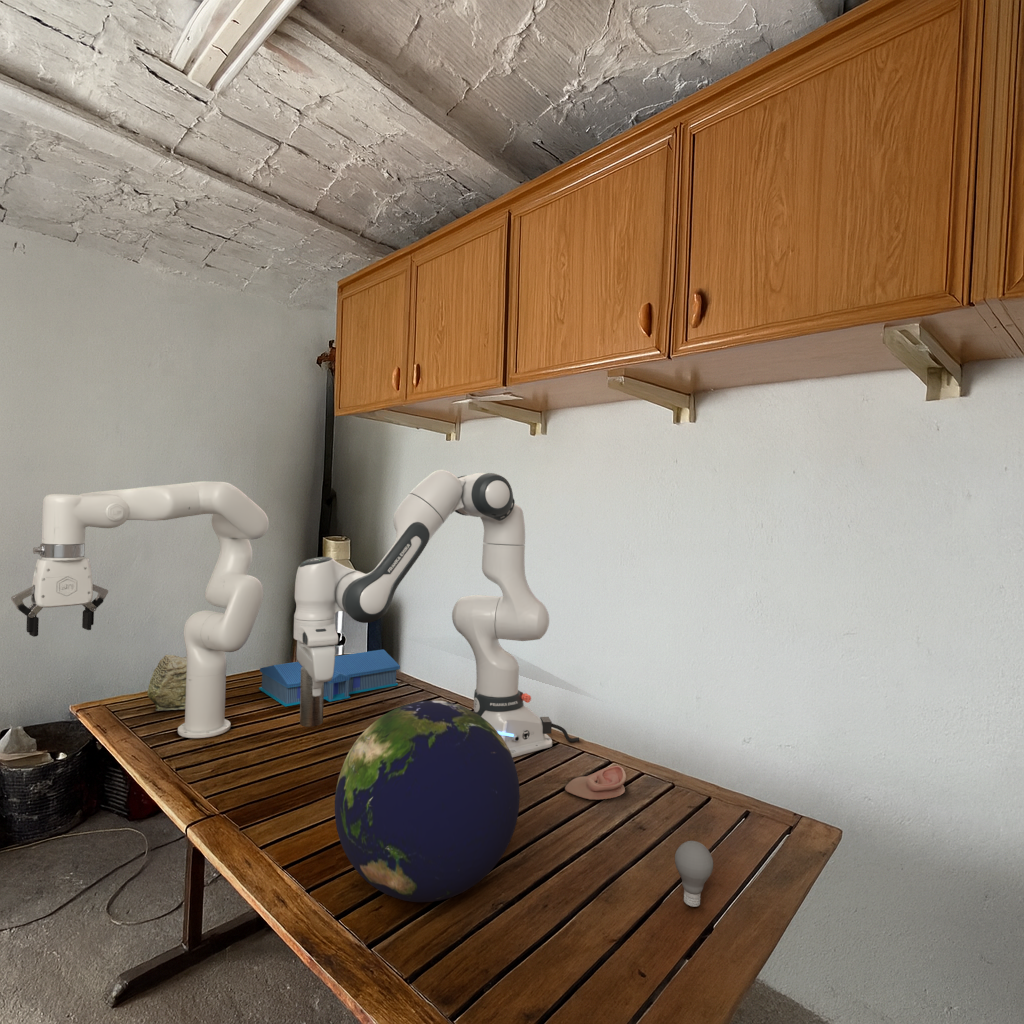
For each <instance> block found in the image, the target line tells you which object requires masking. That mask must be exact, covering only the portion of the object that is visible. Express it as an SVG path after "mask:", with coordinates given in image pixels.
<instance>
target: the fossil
mask: <svg viewBox="0 0 1024 1024" xmlns="http://www.w3.org/2000/svg"><path fill="white" fill-rule="evenodd" d="M186 672H187V656H183V657H182V656H178V655H175V654H174V655H173V654H165V655H164V656H163V657H162V658H161V659H160V660H159V662H158V663H157V666H156V667H155V669H154V670H153V672H152V675H151V677H150V680H149V684H148V688H147V697H148V699H149V700H150V701H152V703H153V704H154V706H155V711H158V712H159V711H162V712H163V711H177V710H185V701H186Z"/></svg>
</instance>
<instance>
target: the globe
mask: <svg viewBox="0 0 1024 1024" xmlns="http://www.w3.org/2000/svg"><path fill="white" fill-rule="evenodd" d="M335 787H336V788H335V795H334V818H335V819H334V820H335V827H336V831H337V835H338V839H339V842H340V845H341V847H342V849H343V852H344V854H345V855H346V857H347V860H348V862H350V864H351V865H352V867H353V868H354V869H355V871H356V872H357V873H358V875H359V876H360V877H362V878H363V880H365V881H366V882H367V883H368V884H369V885H371V886H372V887H373V888H374V889H376V890H378V891H379V892H381V893H382V894H385V895H387V896H389V897H392V898H395V899H396V900H397V899H398V900H402V901H404V902H411V903H434V902H440V901H444V900H447V899H451V898H453V897H456V896H458V895H460V894H463V893H464V892H466V891H468V890H469V889H472V887H475V886H476V885H478V884H479V883H480V882H481V881H482V880H483V879H484V878H485V877H486V876H487V875H488V874H489V873H491V871H492V870H493V869H494V868H495V867H496V866H497V864H498V863H499V862H500V860H501V859H502V857H503V855H504V854H505V852H506V850H507V848H508V847H509V845H510V842H511V840H512V838H513V835H514V833H515V829H516V826H517V822H518V817H519V812H520V798H521V796H520V795H521V793H520V782H519V776H518V771H517V767H516V764H515V760H514V757H513V758H512V755H511V752H510V750H509V748H508V747H507V745H506V743H505V741H504V740H503V738H502V737H501V736H500V734H499V733H498V732H497V731H496V730H495V729H494V727H493V726H492V725H491V724H490V723H489V722H487V721H486V720H485V719H484V718H482V717H481V716H480V715H478V714H476V713H475V712H474V710H471V709H470V708H468V707H465V706H463V705H459V704H457V703H453V702H449V701H445V700H423V701H422V700H421V701H416V702H411V703H407V704H404V705H400V706H399V707H396V708H395V709H393V710H390V711H388V712H387V713H385V714H383V715H382V716H381V717H379V718H377V720H375V721H374V722H373V723H371V724H370V725H369V726H368V727H367V728H366V729H365V730H364V731H363V732H362V733H361V734H360V735H359V736H358V737H357V739H356V741H355V742H354V743H353V745H352V747H351V748H350V749H349V751H348V753H347V755H346V757H345V759H344V761H343V764H342V766H341V769H340V772H339V775H338V778H337V783H336V786H335Z"/></svg>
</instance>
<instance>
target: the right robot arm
mask: <svg viewBox="0 0 1024 1024" xmlns="http://www.w3.org/2000/svg"><path fill="white" fill-rule="evenodd" d="M454 512H455V513H457V514H459V515H461V516H465V517H466V516H469V517H474V518H480V519H481V522H482V525H483V538H482V540H483V542H482V554H481V555H482V557H481V558H482V559H481V570H482V573H483V575H484V576H485V578H486V579H488V580H489V581H491V582H492V583H494V584H495V585H497V586H498V587H499V588H500V591H501V593H502V596H498V595H497V596H496V595H484V594H474V595H466V596H461V597H460V598H459V599H457V601H456V602H455V604H454V606H453V607H452V608H453V609H452V612H451V619H452V624H453V626H454V628H455V630H456V631H457V632H458V633H459V634H460V635H461V636H462V637H463V638H464V639H465V640H466V641H467V643H468V644H469V646H470V649H471V650H472V652H473V655H474V656H473V657H474V659H475V670H476V672H475V673H476V674H475V675H476V678H475V679H476V680H475V681H476V686H475V689H474V693H473V712H475V713H476V714H478V715H480V716H481V717H482V718H484V719H485V720H486V721H487V722H489V723H490V724H491V725H492V726H493V727H494V729H495V730H496V731H497V732H498V733H499V734H500V736H501V737H502V738H503V740H504V741H505V743H506V745H507V747H508V748H509V750H510V752H511V755H512V758H513V759H514V758H516V757H519V756H523V755H527V754H530V753H534V752H538V751H541V750H545V749H548V748H552V747H553V740H552V738H551V736H550V735H551V734H552V728H554V729H557V730H558V731H560V732H562V734H563V736H564V739H565V740H566V741H568V742H569V743H576V742H580V737H573V738H571V737H570V736H569V734H568V731H567V730H566V729H565V728H564V727H562V726H561V725H558V724H555V723H553V722H552V720H551V719H550V717H549V716H540V717H539V715H537V714H536V713H535V712H534V711H532V710H531V709H530V708H529V707H528V706H526V705H525V704H524V703H527V704H528V703H530V702H531V701H532V696H531V695H530V694H528V693H526V692H525V693H524V692H523V691H521V690H519V680H520V679H519V678H520V664H519V662H518V660H517V658H516V657H515V656H514V655H513V654H512V653H510V652H509V651H507V650H505V649H504V648H503V646H501V643H500V641H499V640H505V641H517V642H528V641H538V640H541V639H542V638H543V637H544V636H545V634H546V633H547V631H548V629H549V626H550V614H549V611H548V609H547V607H546V605H545V604H544V603H543V602H542V601H540V600H539V599H538V598H537V597H536V595H535V594H534V592H533V591H532V589H531V588H530V586H529V583H528V580H527V576H526V566H525V565H526V564H525V563H526V561H525V557H526V556H525V555H526V552H525V551H526V524H525V517H524V511H523V509H522V507H521V506H520V505H518V504H517V503H516V502H515V498H514V493H513V489H512V485H511V484H510V482H509V481H508V479H506V478H505V477H504V476H502V475H500V474H497V473H494V472H486V473H485V472H475V473H472V474H468V475H461V476H456V475H455V474H454V473H452V472H451V471H448V470H445V469H437V470H435V471H433V472H431V473H430V474H429V475H427V476H425V478H424V479H422V480H421V481H420V482H419V483H418V484H416V486H414V487H413V489H411V491H410V492H409V493H408V494H407V495H406V497H404V499H403V500H402V501H401V502H400V504H399V505H398V507H397V508H396V509H395V512H394V513H393V517H392V518H393V520H392V521H393V526H394V530H395V532H396V533H395V534H396V536H395V539H394V542H393V544H392V546H391V547H390V548H389V549H388V551H387V552H386V553H385V555H384V556H383V557H382V559H381V560H380V561H379V563H378V564H377V565H376V567H375V568H374V569H373V570H371V571H370V572H367V573H364V572H362V571H360V570H356V569H354V568H353V569H352V568H350V567H348V566H345V565H344V564H342V563H341V562H340V563H339V562H338V561H337V560H335V559H334V558H333V557H332V556H331V557H330V556H318V557H317V556H316V557H312V558H308V559H306V560H303V561H302V562H301V563H300V564H299V565H298V567H297V570H296V576H295V583H294V602H295V612H294V614H293V639H294V640H295V641H296V662H299V663H300V664H301V666H302V667H304V668H305V669H306V670H307V673H308V674H309V675H310V676H311V678H312V681H313V685H312V687H311V693H312V695H313V696H314V697H315V696H320V695H321V687H322V684H323V682H328V681H331V680H332V677H333V673H334V664H335V656H336V645H338V644H339V635H338V632H337V629H336V628H337V627H336V626H337V625H336V613H338V612H344V613H346V614H347V615H348V616H349V617H350V618H351V619H352V620H354V621H356V622H358V623H362V624H370V623H374V622H377V621H378V620H379V619H382V617H384V615H386V613H387V612H388V611H389V608H390V607H391V604H392V601H393V599H394V596H395V594H396V593H395V592H396V591H397V589H398V587H399V585H400V584H401V582H402V581H403V580H404V578H405V577H406V575H407V574H408V572H409V571H410V570H411V569H412V567H413V566H414V564H415V563H416V561H417V560H418V559H419V557H420V556H421V554H422V553H423V551H424V550H425V549H426V547H427V545H428V543H429V541H430V540H431V539H432V538H433V537H434V535H435V534H436V533H437V532H438V530H439V529H440V528H441V527H442V526H443V524H444V523H445V522H446V521H447V520H448V518H449V517H450V515H452V514H453V513H454ZM549 734H550V735H549Z"/></svg>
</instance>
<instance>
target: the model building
mask: <svg viewBox="0 0 1024 1024" xmlns="http://www.w3.org/2000/svg"><path fill="white" fill-rule="evenodd" d="M301 668H302V666H301V664H300V663H299V662H298V661H293V662H287V663H278V664H272V665H268V666H264V667H263V666H262V667H260V668H259V672H260V673H261V686H260V687H258V690H260V691H261V692H262V693H264V694H265V695H267V696H268V697H270V698H271V699H273V700H274V701H276V702H277V703H279V704H280V705H282V706H283V707H290V706H297V705H300V688H301ZM400 669H401V665H400V664H399V663H398V662H397V661H396V660H395V659H394V658H393V657H392V656H391V654H389V653H388V652H387V651H386V650H385V649H376V650H368V651H363V652H356V653H349V654H342V655H341V654H340V655H335V664H334V673H333V677H332V680H331V681H328V682H324V701H327V702H329V703H330V702H335V701H341V700H346V699H347V700H348V699H350V698H351V695H353V694H359V693H364V692H365V693H366V692H369V691H373V690H381V689H385V688H390V687H391V688H392V687H395V686H399V683H398V682H397V670H400Z"/></svg>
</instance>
